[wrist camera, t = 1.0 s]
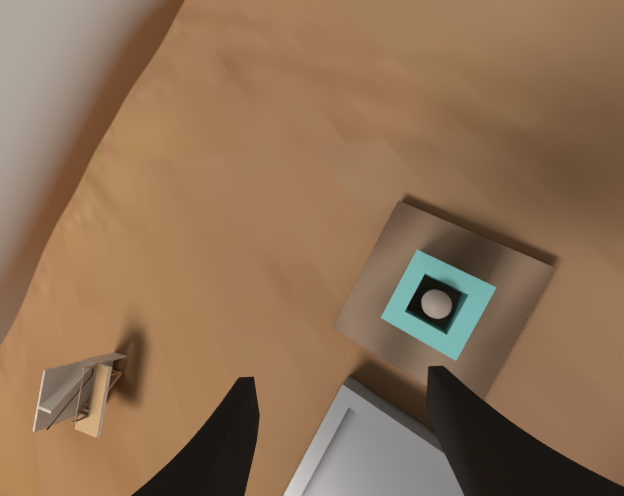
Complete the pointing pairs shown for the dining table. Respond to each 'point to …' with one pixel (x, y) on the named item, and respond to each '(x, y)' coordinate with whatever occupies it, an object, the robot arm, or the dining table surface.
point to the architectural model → (77, 393)
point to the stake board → (462, 257)
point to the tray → (372, 452)
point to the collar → (460, 319)
